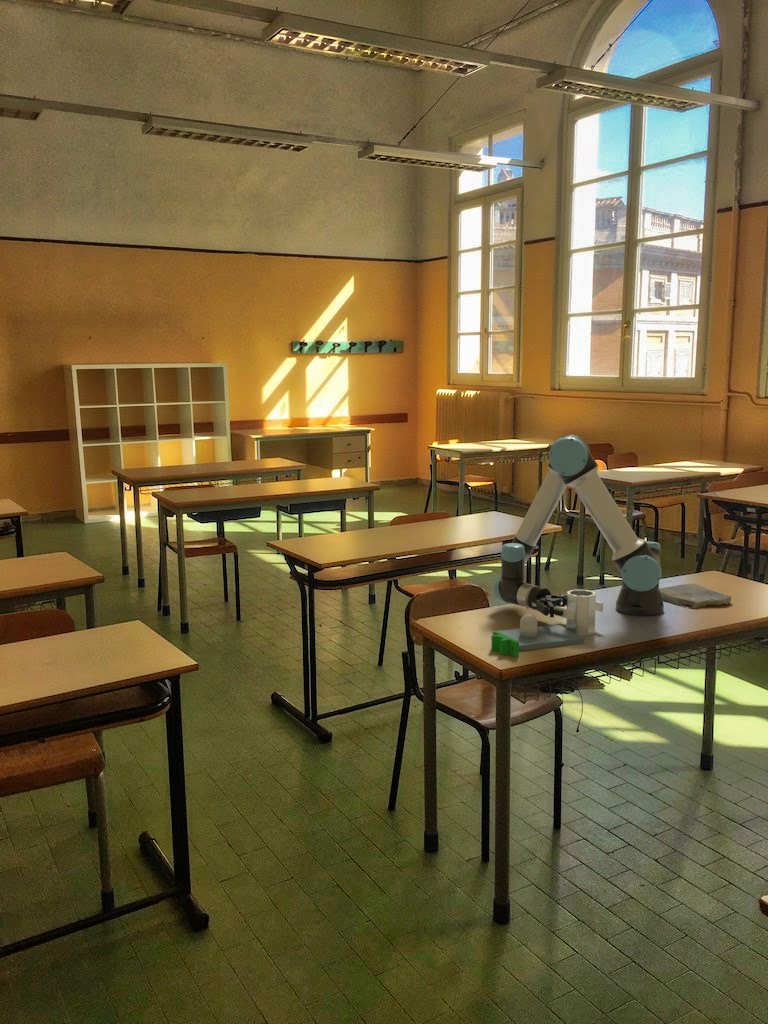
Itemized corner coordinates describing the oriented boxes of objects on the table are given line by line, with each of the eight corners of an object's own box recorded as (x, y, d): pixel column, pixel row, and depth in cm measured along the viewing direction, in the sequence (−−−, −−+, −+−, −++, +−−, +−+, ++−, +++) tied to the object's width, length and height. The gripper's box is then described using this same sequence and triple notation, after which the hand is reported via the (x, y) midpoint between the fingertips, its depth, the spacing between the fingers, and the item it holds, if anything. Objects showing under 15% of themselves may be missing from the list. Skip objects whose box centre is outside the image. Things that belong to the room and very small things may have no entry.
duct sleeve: (578, 626, 265) (579, 588, 263) (599, 632, 259) (601, 593, 257) (560, 631, 260) (561, 592, 258) (582, 637, 254) (583, 597, 252)
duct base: (558, 629, 262) (558, 603, 261) (584, 643, 248) (584, 616, 247) (492, 636, 256) (492, 610, 254) (515, 651, 242) (515, 623, 240)
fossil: (695, 614, 282) (735, 605, 289) (695, 601, 281) (734, 592, 288) (653, 602, 300) (691, 593, 307) (653, 589, 299) (690, 581, 306)
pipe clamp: (485, 648, 245) (485, 632, 245) (496, 646, 247) (497, 631, 246) (507, 659, 235) (507, 643, 235) (518, 657, 237) (519, 641, 236)
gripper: (560, 602, 281) (613, 616, 264) (506, 615, 266) (559, 631, 249) (561, 580, 280) (614, 592, 263) (507, 592, 265) (560, 606, 248)
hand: (587, 611), depth 256 cm, fingers open, 13 cm apart
